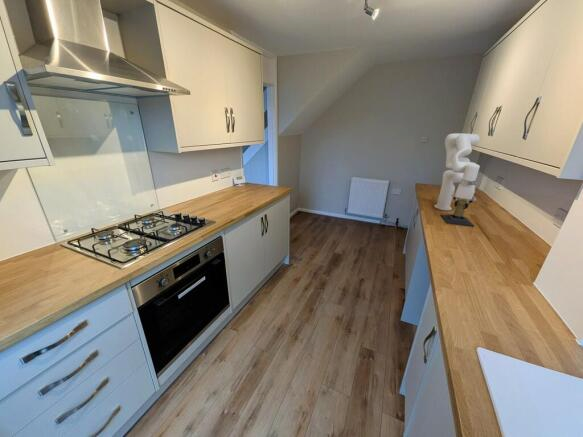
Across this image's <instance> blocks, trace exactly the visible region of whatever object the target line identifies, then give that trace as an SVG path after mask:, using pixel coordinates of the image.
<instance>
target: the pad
mask: <svg viewBox="0 0 583 437" xmlns="http://www.w3.org/2000/svg"><path fill="white" fill-rule="evenodd" d="M440 216H441V218H442V219H443V220H444V222H445V223H446V224H449V225H456V226H465V227H471V228H472V227H474V224H473V223H472V221H470V220H469V219H468V218H467V217H465V216H464V215H463V216H462V217H459V216H455V215H453V213H451V214H450V213H448V214H441V215H440Z"/></svg>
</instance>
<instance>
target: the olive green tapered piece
mask: <svg viewBox="0 0 583 437" xmlns="http://www.w3.org/2000/svg"><path fill="white" fill-rule="evenodd" d="M466 203H467V200H465V199H458V202H457V206H456V207H455V210H454V212H453V213H452V215H455V216H459V217H462V216H464V213H465V209H464V208H465V204H466Z"/></svg>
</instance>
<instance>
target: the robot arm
mask: <svg viewBox="0 0 583 437" xmlns="http://www.w3.org/2000/svg"><path fill="white" fill-rule="evenodd" d="M480 141H481V137H480V135H479V134H477V133H462V132H461V133H458V132H455V133H449V134H448V135H446V136H445V140H444V148H445V152H446V155H445V167H446V169H447V170H445V171H444V172H443V174H442V182H441V187H440V190H439V194H438V198H437V202H436V204H434V205H433V207H434V208H435V209H437V210H441V211H452V209H453V208H452V206H451V205H452V201H453V200H454V204H453V206H454V208H456V207H457V205H458V204H457V202H458V201H459V200H465V201H466V204H465V206H464V210H467V209H468V208H469V206H470V204H471V203H473V202H476V201H477V198H476V196H475V192H476V188H477V187H476V186H477V185H478V184H479V182H478V181H477V177H478V174H479V171H480V167H481V166H480V164H477V163H476V162H473V161H471V160H470V159H469V157H467V156H469V155H470V154H471V153H472V151H473V147H476V146H478V145H479V143H480ZM454 183H456V184H457V183H459V184H458V186H457V188H456V186H455V185H454Z"/></svg>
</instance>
